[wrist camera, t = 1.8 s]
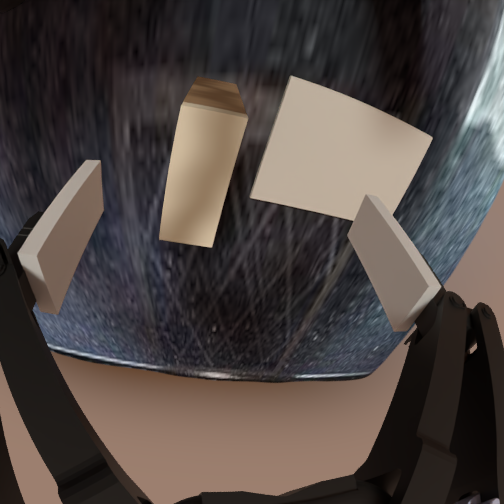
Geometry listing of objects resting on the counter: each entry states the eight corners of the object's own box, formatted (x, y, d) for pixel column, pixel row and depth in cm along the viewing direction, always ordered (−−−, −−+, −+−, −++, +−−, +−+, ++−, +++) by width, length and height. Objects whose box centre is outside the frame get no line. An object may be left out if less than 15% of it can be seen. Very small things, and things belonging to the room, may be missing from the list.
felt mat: (249, 195, 36) (250, 197, 36) (290, 75, 27) (291, 76, 26) (382, 226, 41) (384, 228, 41) (430, 136, 32) (432, 137, 32)
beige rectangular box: (178, 162, 32) (159, 239, 22) (197, 76, 26) (181, 105, 16) (213, 168, 33) (211, 247, 23) (236, 84, 27) (248, 118, 17)
